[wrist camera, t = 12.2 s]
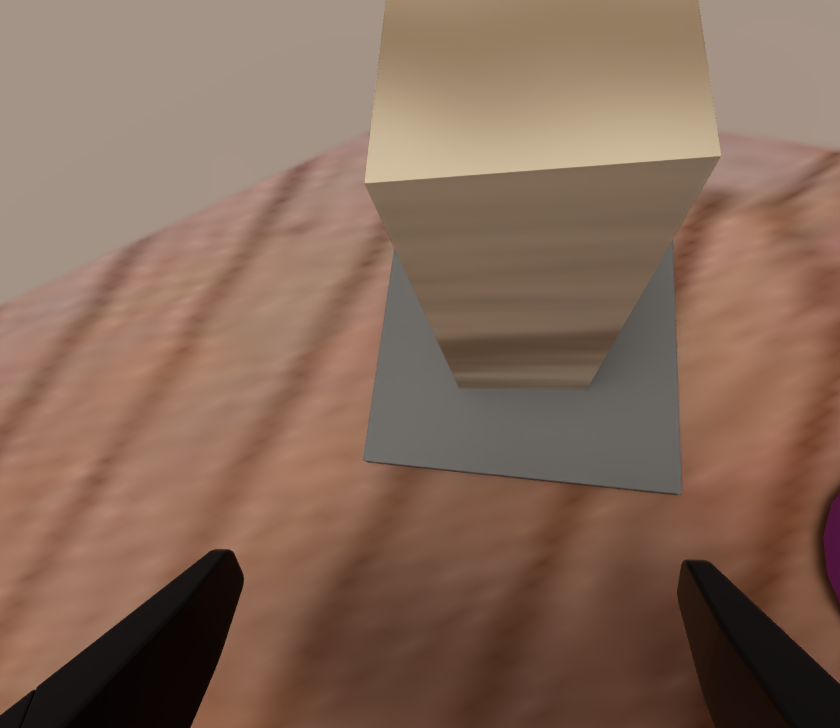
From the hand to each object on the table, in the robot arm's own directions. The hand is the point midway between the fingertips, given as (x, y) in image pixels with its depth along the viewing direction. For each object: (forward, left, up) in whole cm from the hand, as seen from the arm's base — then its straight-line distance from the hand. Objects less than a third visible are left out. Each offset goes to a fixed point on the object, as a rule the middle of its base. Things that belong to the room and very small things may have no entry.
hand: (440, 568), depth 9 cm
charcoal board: (-1, -9, -10) cm, 13 cm away
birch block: (-1, -9, -9) cm, 12 cm away
